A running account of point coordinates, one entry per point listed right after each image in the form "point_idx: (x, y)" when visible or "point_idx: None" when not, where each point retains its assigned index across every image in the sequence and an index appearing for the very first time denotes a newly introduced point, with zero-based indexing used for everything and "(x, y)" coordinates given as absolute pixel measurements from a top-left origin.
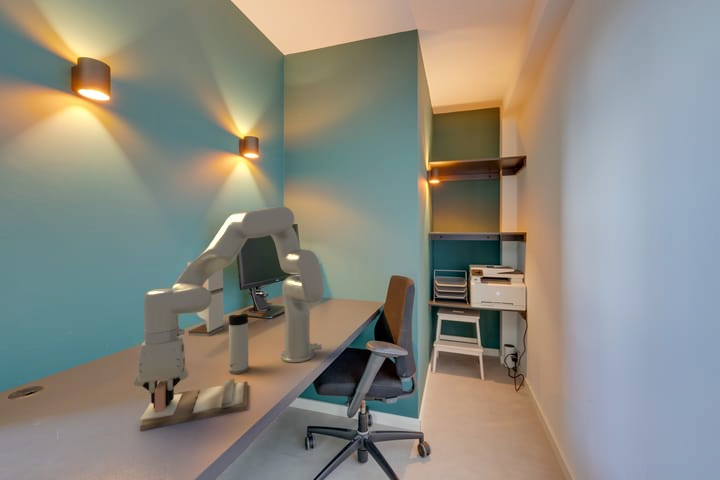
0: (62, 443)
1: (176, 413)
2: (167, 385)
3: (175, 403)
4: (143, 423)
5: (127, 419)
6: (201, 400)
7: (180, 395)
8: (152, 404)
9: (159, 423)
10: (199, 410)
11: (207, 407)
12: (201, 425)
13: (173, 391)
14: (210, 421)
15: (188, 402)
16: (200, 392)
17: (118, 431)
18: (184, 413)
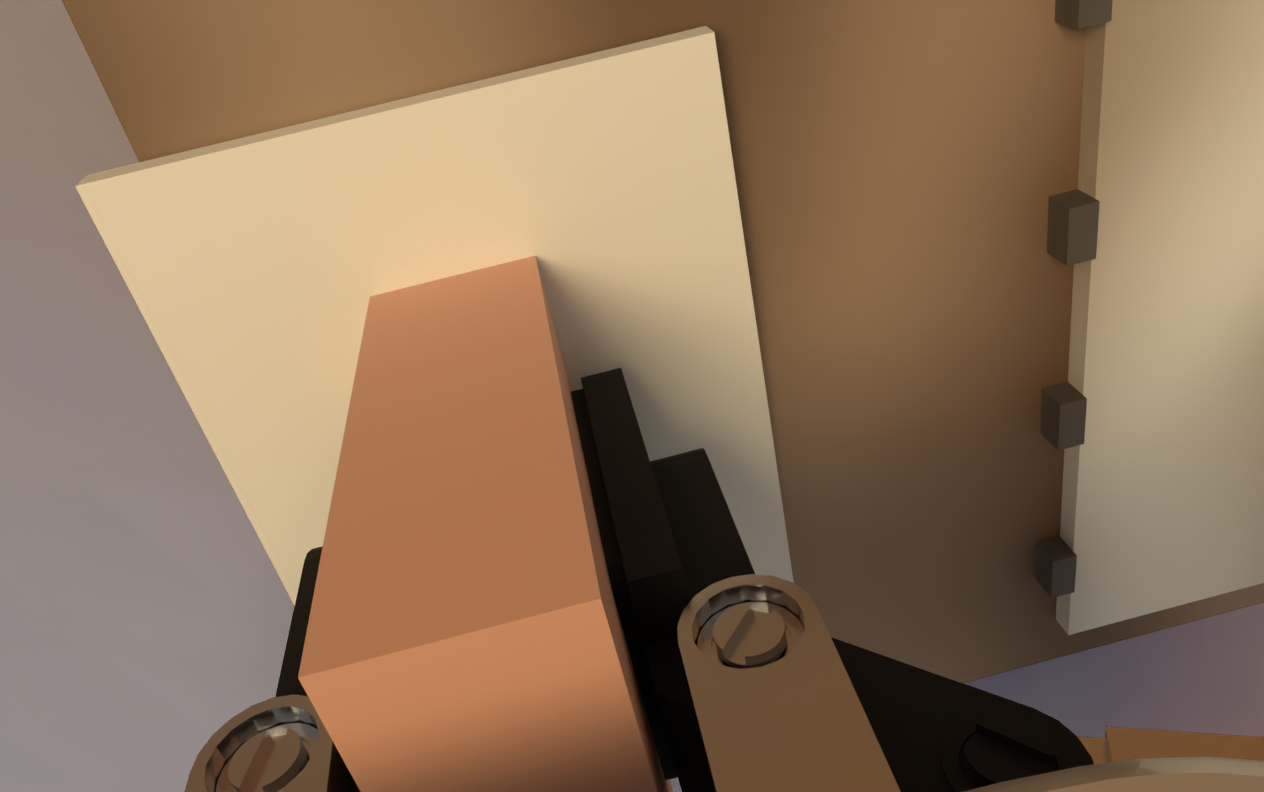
0: None
1: (832, 618)
2: (645, 729)
3: (729, 426)
4: None
5: (27, 570)
6: (1167, 356)
7: (706, 120)
8: (266, 428)
9: None
10: (1155, 610)
11: (1260, 552)
12: (1135, 684)
13: (737, 540)
14: (1227, 628)
15: (931, 347)
16: (1130, 31)
17: (162, 777)
18: (945, 619)
